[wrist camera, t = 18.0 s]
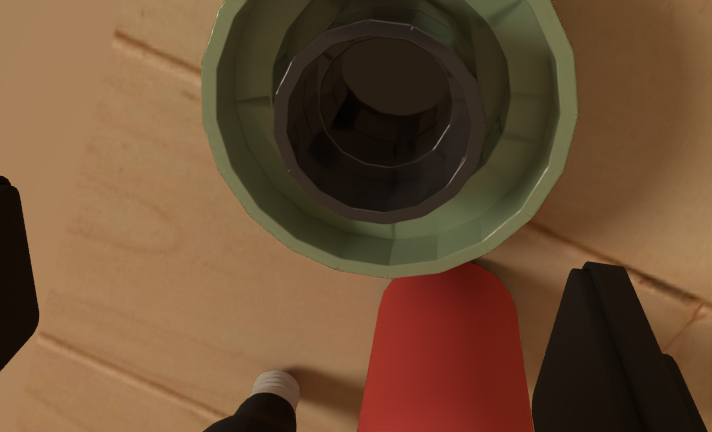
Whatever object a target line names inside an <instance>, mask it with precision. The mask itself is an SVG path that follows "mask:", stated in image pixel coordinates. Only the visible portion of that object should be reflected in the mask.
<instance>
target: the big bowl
mask: <svg viewBox="0 0 712 432" xmlns="http://www.w3.org/2000/svg"><path fill="white" fill-rule="evenodd" d="M356 1H359V0H225V1H224V2H223V4H222V5H221V6H220V9H219V10H218V13H217V16H216V19H215V22H214V26H213V29H212V32H211V35H210V38H209V41H208V44H207V47H206V50H205V53H204V56H203V60H202V65H201V74H202V119H203V120H202V122H203V125H204V128H205V131H206V134H207V137H208V140H209V143H210V146H211V150H212V153H213V156H214V159H215V162H216V165H217V168H218V171H220V174H221V176H222V177H223V179H224V180H225V181H226V183H227V184H228V186H229V187H230V189H231V190H232V192H233V193H234V195H235V196H236V197H237V199H238V200H239V202H240V203H241V205H242V206H243V208H244V209H245V210H246V212H247V213H248V215H250V217H251V218H252V219H254V220H255V221H256V222H257V223H259V224H260V225H261V226H262V227H263V228H265V229H266V230H267V231H268V232H269V233H271V234H272V235H273V236H274V237H276V238H277V239H278V240H279V241H280V242H282V243H283V244H284V245H285V246H286V247H288V248H289V249H291V250H293V251H295V252H297V253H299V254H301V255H304V256H306V257H308V258H310V259H313V260H315V261H317V262H319V263H322V264H324V265H326V266H328V267H330V268H333V269H335V270H338V271H343V272H349V273H355V274H362V275H368V276H375V277H381V278H387V279H388V278H390V279H392V278H401V277H410V276H418V275H427V274H436V273H441V272H444V271H447V270H449V269H452V268H454V267H456V266H459V265H461V264H464V263H466V262H469V261H471V260H473V259H476V258H478V257H481V256H483V255H485V254H488V253H490V251H493V250H494V249H495V248H497V247H498V246H499V245H500V244H502V243H503V242H504V241H505V240H506V239H508V238H509V237H510V236H511V235H513V234H514V233H515V232H516V231H518V230H519V229H520V228H521V227H522V226H524V225H525V224H526V223H527V222H529V221H530V220H531V219H532V217H534V216H535V214H536V213H537V211H538V210H539V208H540V207H541V205H542V204H543V202H544V201H545V199H546V197H547V196H548V194H549V193H550V191H551V190H552V188H553V187H554V185H555V184H556V182H557V181H558V179H559V178H560V176H561V175H562V173H563V170H564V169H565V165H566V162H567V158H568V154H569V150H570V147H571V143H572V139H573V135H574V131H575V128H576V124H577V120H578V113H579V107H578V94H577V81H576V68H575V55H574V51H573V49H572V47H571V44H570V42H569V40H568V38H567V35H566V33H565V31H564V29H563V26H562V24H561V22H560V20H559V17H558V15H557V13H556V11H555V8H554V6H553V4H552V2H551V0H426V1H427V2H429V3H431V4H432V5H434V6H436V7H437V8H439V9H441V10H443V11H444V12H446V13H448V14H449V15H451V17H453V18H454V19H455V21H456V22H457V23H458V25H459V26H460V28H461V29H462V30H463V32H464V33H465V34H466V36H467V37H468V39H469V40H470V41H471V43H472V44H473V46H474V50H475V55H476V59H477V64H478V68H479V73H480V77H481V84H482V91H483V99H484V106H485V113H486V121H487V123H486V125H487V126H486V131H485V136H484V141H483V146H482V151H481V156H480V161H479V163H478V166H477V167H476V169H475V170H474V171H473V173H472V174H471V176H470V177H469V179H468V180H467V181H466V183H465V184H464V186H463V187H462V189H461V190H460V192H459V193H458V194H457V195H456V196H455V197H454V198H452V199H451V200H449V201H448V202H446V203H445V204H443V205H441V206H440V207H438V208H437V209H435V210H434V211H432V212H431V213H429V214H428V215H426V216H423V217H422V218H417V219H412V220H407V221H402V222H397V223H392V224H388V225H386V224H385V225H382V224H376V223H369V222H362V221H356V220H349V219H347V218H344V217H342V216H340V215H338V214H336V213H334V212H333V211H331V210H329V209H327V208H325V207H323V206H322V205H320V204H318V203H316V202H314V201H313V200H312V199H311V198H310V197H309V196H308V195H307V194H306V193H305V192H304V190H303V189H302V188H301V187H300V186H299V185H298V184H297V182H296V181H295V180H294V179H293V178H292V177H291V176H290V174H289V173H288V172H287V170H286V168H285V166H284V163H283V160H282V157H281V155H280V152H279V149H278V146H277V144H276V141H275V138H274V133H273V124H274V101H275V95H276V91H277V89H278V87H279V85H280V83H281V81H282V79H283V77H284V75H285V73H286V71H287V69H288V66H289V64H290V62H291V60H292V59H293V58H294V56H295V55H296V54H297V53H298V52H299V51H300V50H301V49H302V48H303V47H304V46H305V44H306V43H307V42H308V41H309V40H310V39H311V38H312V37H313V36H314V35H315V34H316V33H317V32H318V30H319V29H320V28H321V27H322V26H323V25H324V24H325V23H326V22H328V21H329V20H330V19H331V18H332V17H334V16H335V15H336V14H337V13H338V12H340V11H341V10H342V9H343V8H344V7H346V6H347V5H348V4H351V3H352V2H356Z"/></svg>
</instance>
